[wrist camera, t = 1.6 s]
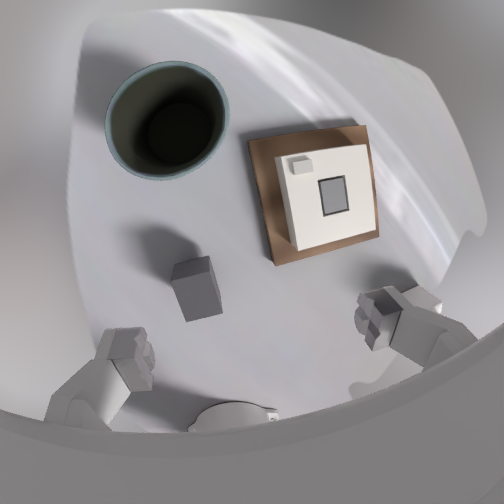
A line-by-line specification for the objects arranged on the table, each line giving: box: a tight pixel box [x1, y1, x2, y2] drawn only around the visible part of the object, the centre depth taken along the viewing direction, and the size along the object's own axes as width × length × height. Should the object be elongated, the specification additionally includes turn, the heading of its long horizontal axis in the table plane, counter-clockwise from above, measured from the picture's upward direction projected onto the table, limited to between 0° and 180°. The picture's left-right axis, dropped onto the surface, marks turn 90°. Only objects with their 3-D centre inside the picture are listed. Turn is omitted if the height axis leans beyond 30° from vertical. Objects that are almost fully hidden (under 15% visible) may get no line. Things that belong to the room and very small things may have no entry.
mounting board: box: [247, 125, 379, 266], centre depth 34 cm, size 16×16×2 cm
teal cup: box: [105, 61, 230, 181], centre depth 24 cm, size 10×10×12 cm
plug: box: [171, 256, 223, 322], centre depth 33 cm, size 7×4×6 cm, turn 12°
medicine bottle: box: [401, 285, 443, 316], centre depth 38 cm, size 7×7×12 cm
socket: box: [274, 144, 376, 251], centre depth 31 cm, size 11×11×4 cm
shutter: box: [318, 177, 347, 214], centre depth 31 cm, size 4×3×1 cm
